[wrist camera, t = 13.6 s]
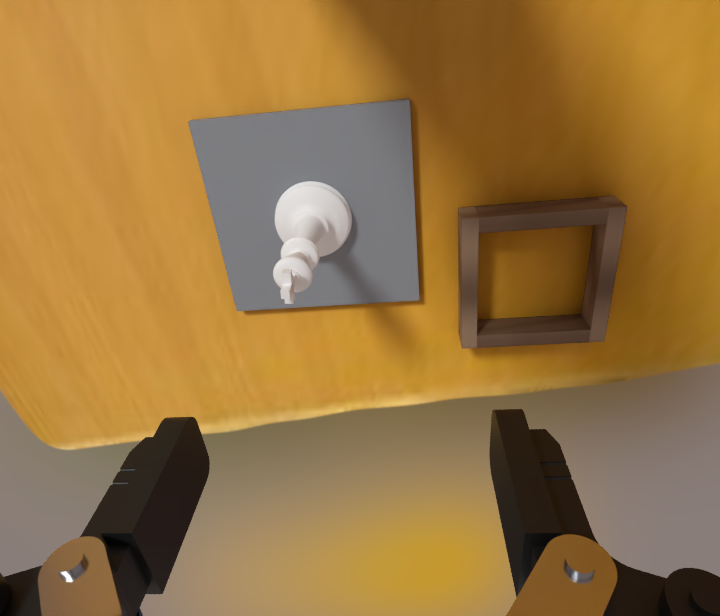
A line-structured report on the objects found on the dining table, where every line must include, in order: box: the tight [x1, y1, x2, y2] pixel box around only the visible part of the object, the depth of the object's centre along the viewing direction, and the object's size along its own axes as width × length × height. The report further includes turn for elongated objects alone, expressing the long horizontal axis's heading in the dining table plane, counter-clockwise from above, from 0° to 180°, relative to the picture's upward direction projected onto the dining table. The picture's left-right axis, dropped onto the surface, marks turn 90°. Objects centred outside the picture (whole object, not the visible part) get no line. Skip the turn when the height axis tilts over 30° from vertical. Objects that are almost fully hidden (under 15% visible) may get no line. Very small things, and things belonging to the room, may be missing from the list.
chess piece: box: [273, 181, 352, 304], centre depth 28 cm, size 5×5×10 cm
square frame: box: [458, 196, 627, 348], centre depth 33 cm, size 10×10×2 cm
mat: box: [188, 99, 419, 311], centre depth 33 cm, size 13×13×1 cm
